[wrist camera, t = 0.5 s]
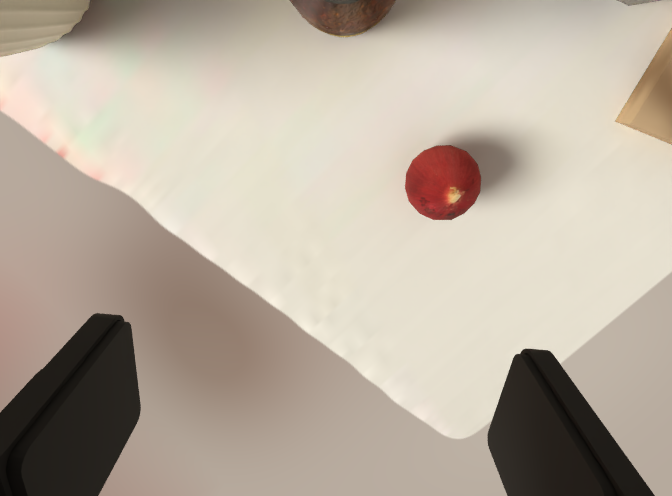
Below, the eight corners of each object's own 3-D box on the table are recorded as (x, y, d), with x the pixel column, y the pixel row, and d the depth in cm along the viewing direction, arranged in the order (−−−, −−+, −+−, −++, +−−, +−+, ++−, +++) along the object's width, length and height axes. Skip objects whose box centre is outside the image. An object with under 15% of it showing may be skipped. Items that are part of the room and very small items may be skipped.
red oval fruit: (462, 202, 39) (491, 237, 31) (398, 203, 39) (412, 238, 31) (469, 137, 36) (503, 158, 29) (401, 138, 36) (417, 159, 29)
